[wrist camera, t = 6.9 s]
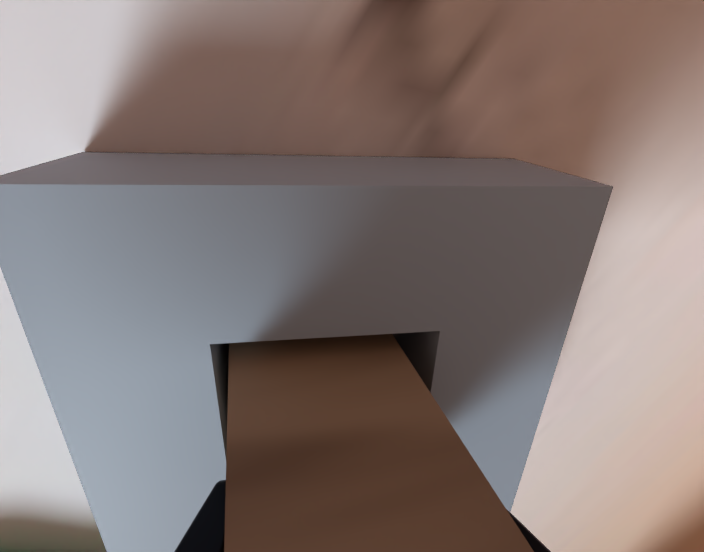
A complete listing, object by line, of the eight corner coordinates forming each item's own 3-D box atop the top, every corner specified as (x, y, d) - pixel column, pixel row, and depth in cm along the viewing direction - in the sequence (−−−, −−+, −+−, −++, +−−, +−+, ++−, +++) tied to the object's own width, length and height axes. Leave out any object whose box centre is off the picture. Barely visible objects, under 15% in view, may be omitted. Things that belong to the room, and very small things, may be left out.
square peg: (367, 407, 13) (568, 886, 5) (244, 430, 12) (261, 1064, 4) (372, 303, 11) (681, 779, 3) (229, 320, 10) (212, 1034, 2)
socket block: (513, 158, 12) (613, 186, 8) (455, 444, 17) (501, 538, 13) (82, 152, 10) (-31, 184, 6) (161, 475, 15) (123, 595, 11)
